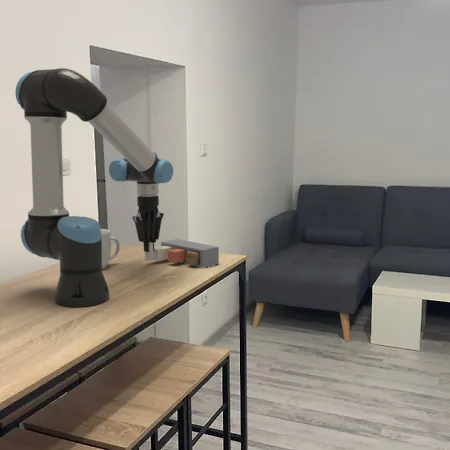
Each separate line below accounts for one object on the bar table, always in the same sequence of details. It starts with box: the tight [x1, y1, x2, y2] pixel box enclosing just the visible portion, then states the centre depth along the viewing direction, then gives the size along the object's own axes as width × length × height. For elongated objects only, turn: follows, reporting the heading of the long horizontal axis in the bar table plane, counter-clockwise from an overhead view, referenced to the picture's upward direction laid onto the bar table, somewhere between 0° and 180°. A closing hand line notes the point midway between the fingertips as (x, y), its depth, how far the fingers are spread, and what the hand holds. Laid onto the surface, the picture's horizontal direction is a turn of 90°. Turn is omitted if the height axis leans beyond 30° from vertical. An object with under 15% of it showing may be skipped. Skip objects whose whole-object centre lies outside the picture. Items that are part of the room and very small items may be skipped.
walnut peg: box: [186, 251, 200, 265], centre depth 200 cm, size 9×4×4 cm, turn 139°
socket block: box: [160, 238, 220, 269], centre depth 206 cm, size 8×22×6 cm, turn 49°
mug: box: [101, 228, 121, 270], centre depth 196 cm, size 15×11×13 cm
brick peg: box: [167, 248, 186, 264], centre depth 203 cm, size 9×4×4 cm, turn 139°
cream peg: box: [152, 245, 173, 262], centre depth 206 cm, size 9×4×4 cm, turn 139°
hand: (149, 259), depth 201 cm, fingers closed
